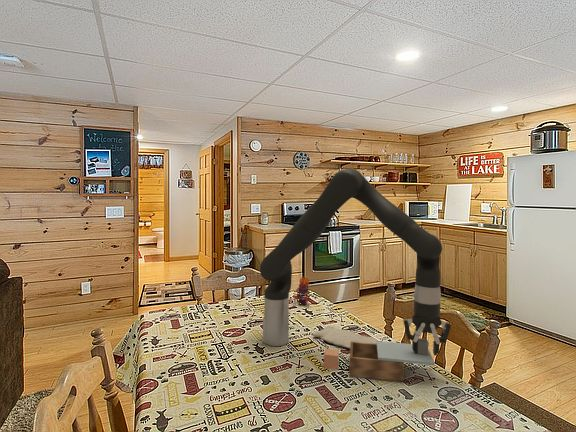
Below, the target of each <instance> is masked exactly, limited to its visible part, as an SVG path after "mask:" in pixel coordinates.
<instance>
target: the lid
mask: <svg viewBox="0 0 576 432" xmlns="http://www.w3.org/2000/svg"><path fill="white" fill-rule="evenodd" d="M377 353H378V360H383V361H393V362H403V363H404V364H405V363H406V364H416V365H424V366H435V361H434V358H433V356H432V354H431V352H430V349H429V340H428V338H421V337H419V339H418V354H415V352H414V351H413V349H412V343H403V342H392V341H381V340H378V341H377Z"/></svg>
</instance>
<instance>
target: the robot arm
mask: <svg viewBox="0 0 576 432" xmlns="http://www.w3.org/2000/svg"><path fill="white" fill-rule="evenodd" d="M351 198H353V199H354V200H357V201H358V202H360V203H361V204H363V205H364V206H366V208H368V210H369V211H370V212H371V213H372V214H373V215H374V216H375V217H376V219H377V220H378V221H379V222H380V223H381V224H382V225H383V226H384V227H385V228H387V230H389V231H390V232H392V234H394V236H396V237H398V238H399V239H401V240H402V241H403V242H404V243H406V245H407V246H408V247H409V248H411V250H413V251H414V252H415V253H416V269H415V284H414V286H415V287H414V292H413V293H414V294H413V298H414V299H413V315H412V316H411V317H412V318H406V317H404V318H403V319H402V321H403V325H404V330H405V335H406V337H407V339H408V340H410V341H411V342H412V343H411V344H412V349H413V351H414V352H415V354H418V339H419V338H420V337H421V335H422V333H424V334H425V333H428V334H432V337H433V340H434V341H433V344H432V346H433V347H432V352H433V353H432V354H433V355H434V356H436V357H437V356H438V355H439V353H440V345H441V344H442V343H443V344H446V343H447V341H448V337H449V334H450V331H451V327H452V326H451V324H450V322H449V321H443V320H441V299H442V298H441V297H442V294H441V293H442V292H441V268H440V259H441V258H440V257H441V255H442V251H443V246H442V242H441V241H440V239H439V238H438V237H437V236H436V235H435V234H431V233H429V232H428V231H427V230H425V228H423V227H422V226H420V225H419V224H418V222H416V220H414V219H413V218H412V217H411V216H409V215H408V214H407V213H405V212H404V211H403V210H402V209H400V208H399V207H397V205H395V204H394V203H392V202H391V201H390V200H389V199H387V198H386V197H385V196H383V194H381V192H380V191H378V190H377V189H376V188H375V187H374V186H373V185H372V184H371V183H370V182H369V181H368V180H367V178H366V177H365V176H364V175H363V174H362V173H361V172H360V171H359V170H358V169H355V168H345V169H342V170H339V171H337V172H336V173H335V174H334V175H333V176H332V178H331V179H330V181H329V182H328V184H327V185H326V187H324V189H323V191H322V192H321V194H320V195H319V197H318V198H317V199H316V200H315V201H314V202H313V203H312V204H311V205H310V206H309V207H308V208H307V209H306V211H305V212H304V213H303V214H302V215H301V216H300V217H299V219H297V221H296V222H295V223H294V224H293V226H292V227H291V228H290V230H289V231H288V232H287V233H286V235H285V236H284V237H283V238H282V240H281V241H280V242H279V243H278V244H277V246H275V248H273V250H272V251H270V252H269V253H268V254H267V255H266V256H265V257H263V259H262V260H261V262H260V266H259V273H260V275H261V277H262V279H264V280H266V281H269V284H268V285H267V286H266V288H265V289H264V301H263V302H264V303H263V304H264V306H263V307H264V308H263V309H264V313H263V314H264V315H263V316H264V317H262V343H263V344H266V345H268V346H271V347H281V346H285V345H287V344H288V343H289V337H290V334H289V331H290V330H289V329H290V328H289V327H290V326H289V325H290V316H289V315H290V314H289V311H290V307H289V305H290V300H289V299H290V298H289V297H290V292H291V288H292V278H293V277H292V276H293V275H292V273H293V266H292V262H291V261H292V260H293V259H294V258H295V257H296V256H298V255H299V254H301V253H303V252H304V251H305V250H306V249H308V248H309V247H310V246H312V245H313V244H314V243H315V241H317V239H318V238H319V237H320V236H321V235H322V234H323V233H324V232H325V230H326V229H327V227H328V226H329V224H330V221H331V220H332V218H333V217H334V215H335V214H336V213H337V211H338V210H339V209H340V208H341V207H342V206H343V205H344V204H346V202H348V201H349V200H351ZM412 323H413V325H414V326H415V329H414V332H413V334H412V333H411V330H410V327H411V326H412ZM440 326H441V328H442V330H441V335H440V336H438V332H437V330H438V329H439V328H440Z"/></svg>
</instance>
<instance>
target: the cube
mask: <svg viewBox="0 0 576 432" xmlns="http://www.w3.org/2000/svg"><path fill="white" fill-rule="evenodd" d="M339 357H340V350H339V349H333V348H325V349H324V352H323V368H324V369H331V370H339V363H340V362H339V361H340V358H339Z"/></svg>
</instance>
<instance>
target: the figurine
mask: <svg viewBox="0 0 576 432" xmlns="http://www.w3.org/2000/svg"><path fill="white" fill-rule="evenodd" d="M309 284H310V279H309V276H306V275H304V276H303V277H301V278H300V279H299V284H298V287H297V288H296V295H293V297H292V298H293V302H292V303H291V304H292V305H296V304H297V303H298V305H299V306H304V305H306V306H307V307H309V306H310V303H309V300H310V296H311V294H310V290H309ZM304 295H305V296H304ZM300 303H301V304H300Z"/></svg>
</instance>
